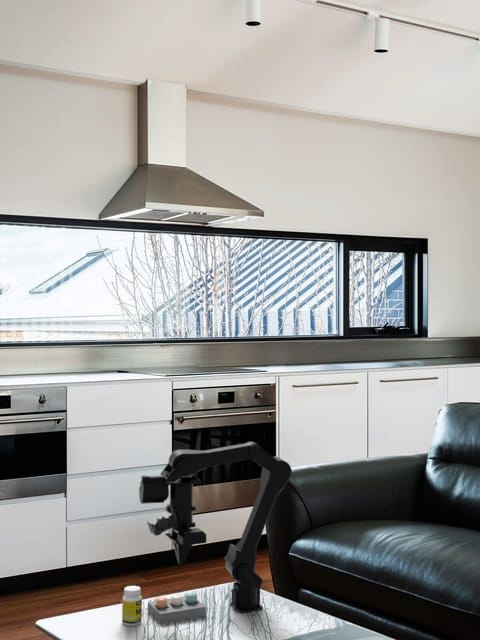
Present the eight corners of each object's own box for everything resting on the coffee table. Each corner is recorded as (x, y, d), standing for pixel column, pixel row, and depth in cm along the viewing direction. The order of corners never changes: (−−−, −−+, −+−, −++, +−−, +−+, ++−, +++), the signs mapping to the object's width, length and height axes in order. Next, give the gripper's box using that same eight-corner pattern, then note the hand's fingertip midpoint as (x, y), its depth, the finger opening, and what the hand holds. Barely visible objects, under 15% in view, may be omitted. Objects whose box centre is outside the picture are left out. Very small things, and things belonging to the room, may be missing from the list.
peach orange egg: (164, 612, 214) (164, 596, 214) (168, 616, 212) (169, 600, 212) (154, 614, 213) (154, 598, 213) (158, 617, 210) (158, 601, 210)
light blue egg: (194, 607, 218) (194, 592, 218) (198, 611, 215) (198, 595, 215) (184, 609, 216) (184, 593, 216) (188, 613, 214) (188, 597, 214)
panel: (191, 604, 221) (191, 595, 221) (205, 616, 213) (205, 606, 213) (147, 611, 215) (147, 601, 215) (160, 623, 207) (160, 613, 207)
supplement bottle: (138, 627, 205) (138, 592, 205) (119, 625, 206) (119, 590, 206) (144, 619, 210) (144, 585, 210) (125, 618, 211) (126, 584, 211)
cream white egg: (179, 610, 216) (179, 594, 216) (183, 613, 213) (184, 597, 213) (169, 611, 215) (169, 595, 215) (173, 615, 212) (173, 599, 212)
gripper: (138, 496, 219) (137, 557, 219) (164, 513, 202) (163, 579, 202) (178, 492, 224) (178, 552, 224) (207, 508, 207) (206, 572, 207)
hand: (180, 563), depth 214 cm, fingers closed
